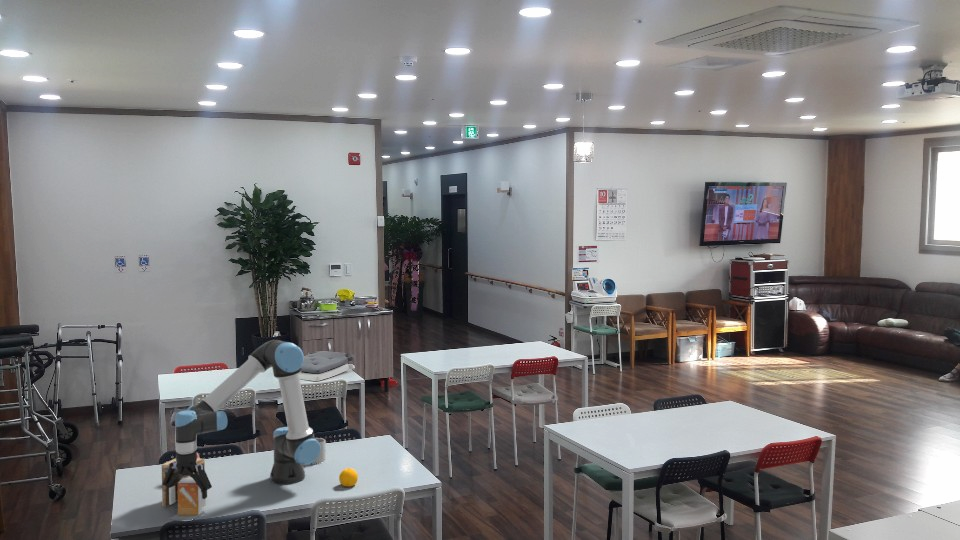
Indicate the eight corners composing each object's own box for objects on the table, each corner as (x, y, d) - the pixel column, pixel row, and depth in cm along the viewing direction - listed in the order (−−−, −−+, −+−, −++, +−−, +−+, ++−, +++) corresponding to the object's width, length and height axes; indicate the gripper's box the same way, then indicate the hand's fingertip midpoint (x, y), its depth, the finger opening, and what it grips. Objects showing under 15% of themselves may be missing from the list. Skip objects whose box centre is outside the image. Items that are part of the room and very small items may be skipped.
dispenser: (205, 499, 308) (204, 458, 306) (187, 510, 296) (186, 467, 295) (180, 497, 311) (179, 456, 309) (161, 507, 299) (160, 465, 298)
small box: (177, 515, 289) (176, 482, 288) (183, 509, 296) (182, 477, 295) (198, 515, 290) (198, 482, 289) (204, 509, 296) (203, 476, 295)
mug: (327, 462, 356) (327, 441, 355) (309, 465, 352) (309, 444, 352) (321, 455, 367) (320, 435, 366) (303, 457, 363) (303, 437, 363)
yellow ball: (351, 481, 331) (350, 464, 330) (361, 485, 325) (361, 468, 325) (335, 485, 325) (335, 468, 325) (346, 490, 319) (345, 472, 319)
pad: (204, 513, 293) (204, 511, 293) (190, 522, 285) (190, 520, 285) (185, 510, 296) (184, 509, 296) (170, 519, 287) (170, 518, 287)
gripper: (220, 451, 289) (221, 504, 290) (164, 446, 295) (166, 498, 297) (208, 456, 282) (209, 511, 283) (152, 451, 288) (153, 505, 289)
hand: (187, 505), depth 290 cm, fingers open, 13 cm apart
